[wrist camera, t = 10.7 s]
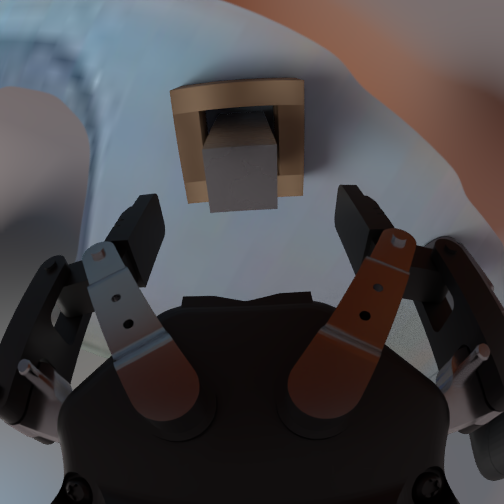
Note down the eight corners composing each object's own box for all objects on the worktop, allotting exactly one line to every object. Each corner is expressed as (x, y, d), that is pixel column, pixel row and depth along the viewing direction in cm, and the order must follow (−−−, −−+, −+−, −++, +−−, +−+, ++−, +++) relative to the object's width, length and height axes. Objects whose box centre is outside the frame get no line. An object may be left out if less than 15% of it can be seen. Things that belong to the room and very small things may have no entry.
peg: (262, 111, 23) (276, 144, 14) (264, 151, 25) (277, 208, 17) (218, 113, 23) (201, 149, 14) (221, 154, 25) (210, 212, 17)
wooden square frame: (294, 77, 21) (304, 80, 18) (295, 177, 27) (302, 195, 24) (180, 86, 21) (169, 90, 18) (194, 184, 27) (188, 203, 24)
